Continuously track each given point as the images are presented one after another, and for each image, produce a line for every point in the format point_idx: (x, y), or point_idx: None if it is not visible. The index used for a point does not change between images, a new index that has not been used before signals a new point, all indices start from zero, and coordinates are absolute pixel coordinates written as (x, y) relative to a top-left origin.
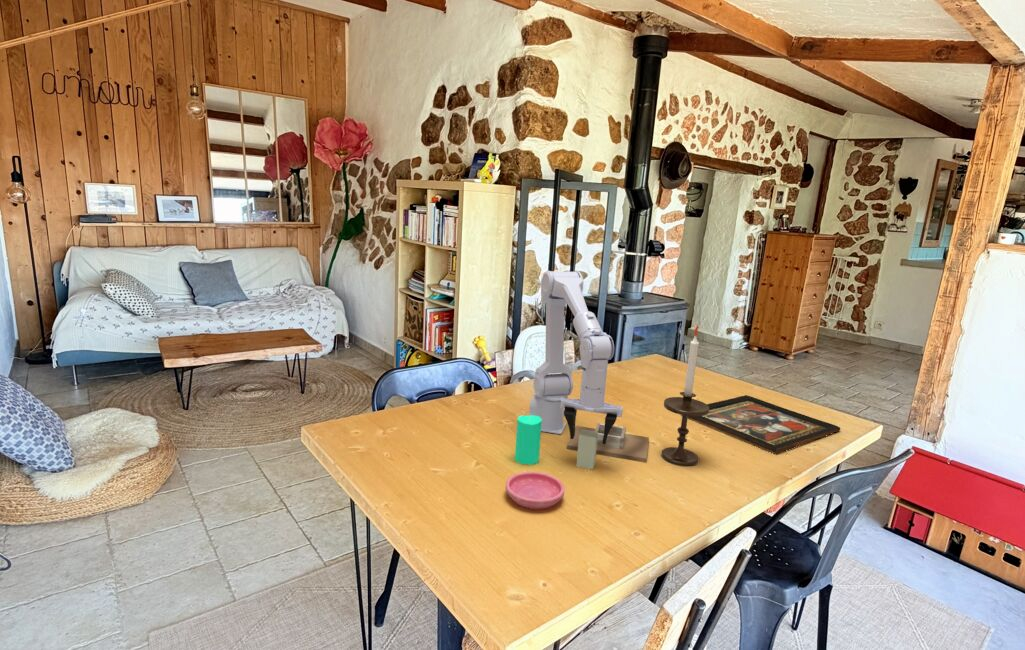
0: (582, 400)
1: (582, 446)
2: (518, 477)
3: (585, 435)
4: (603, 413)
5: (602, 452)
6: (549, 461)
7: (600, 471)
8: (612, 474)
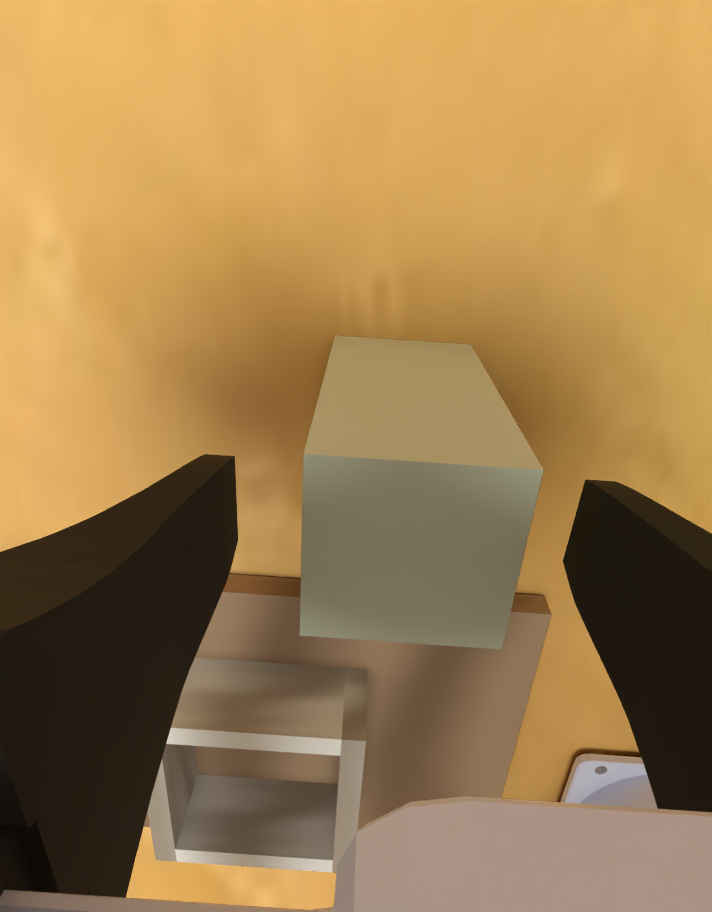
0: None
1: (460, 407)
2: None
3: (452, 493)
4: (106, 898)
5: (291, 590)
6: (694, 363)
7: (272, 320)
8: (173, 298)
